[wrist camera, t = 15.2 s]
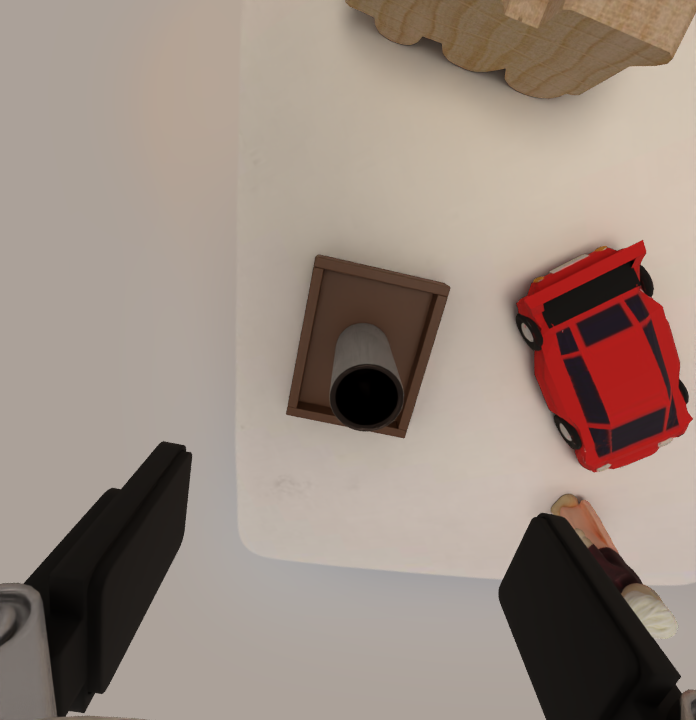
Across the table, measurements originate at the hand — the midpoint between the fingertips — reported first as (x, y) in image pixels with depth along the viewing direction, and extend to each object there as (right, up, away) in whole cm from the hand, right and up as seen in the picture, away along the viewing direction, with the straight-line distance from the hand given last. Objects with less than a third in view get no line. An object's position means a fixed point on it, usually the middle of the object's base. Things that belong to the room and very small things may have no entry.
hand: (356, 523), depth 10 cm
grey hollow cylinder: (+1, +5, +23) cm, 24 cm away
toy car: (+21, +4, +24) cm, 32 cm away
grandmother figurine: (+22, -10, +29) cm, 38 cm away
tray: (+1, +6, +23) cm, 24 cm away
